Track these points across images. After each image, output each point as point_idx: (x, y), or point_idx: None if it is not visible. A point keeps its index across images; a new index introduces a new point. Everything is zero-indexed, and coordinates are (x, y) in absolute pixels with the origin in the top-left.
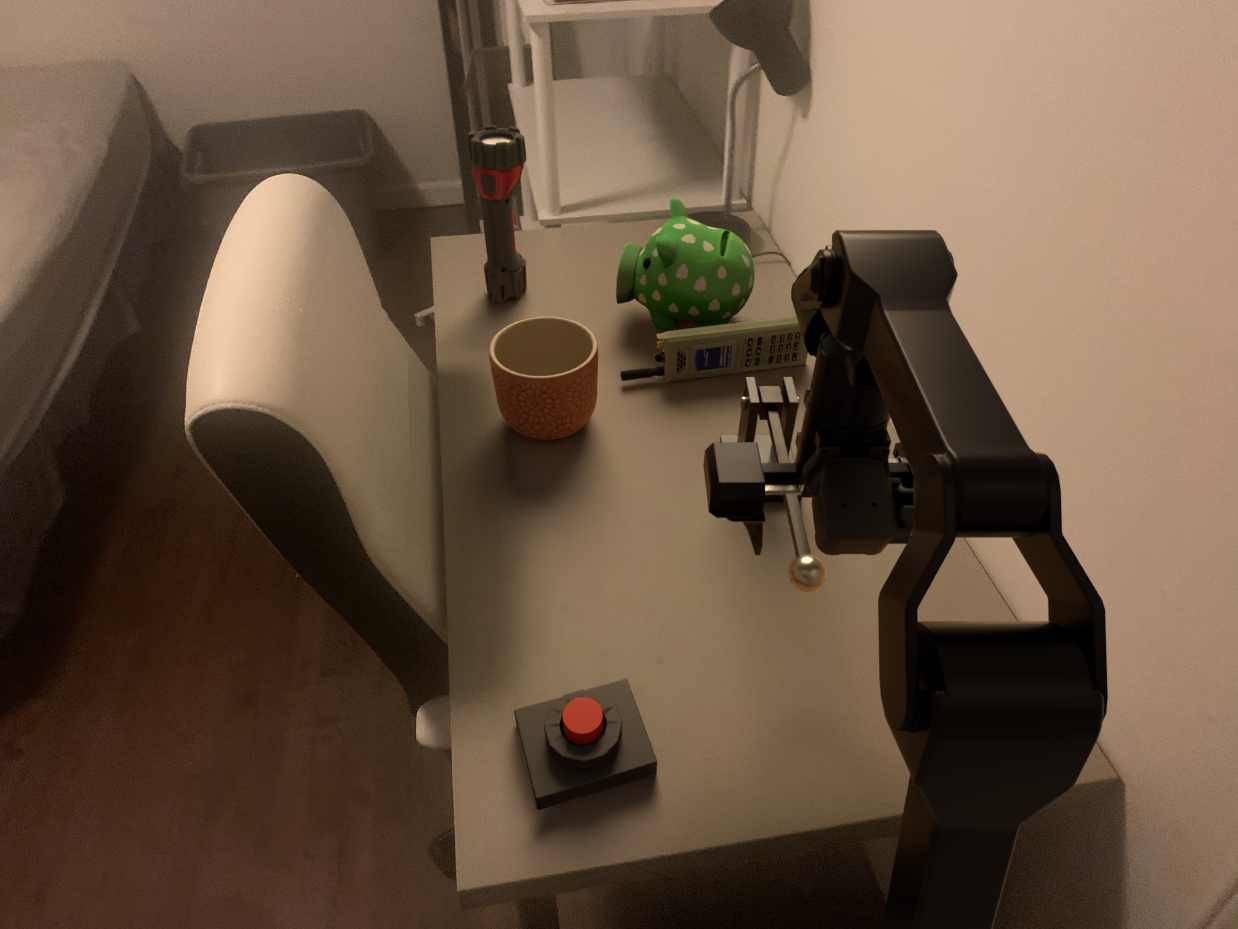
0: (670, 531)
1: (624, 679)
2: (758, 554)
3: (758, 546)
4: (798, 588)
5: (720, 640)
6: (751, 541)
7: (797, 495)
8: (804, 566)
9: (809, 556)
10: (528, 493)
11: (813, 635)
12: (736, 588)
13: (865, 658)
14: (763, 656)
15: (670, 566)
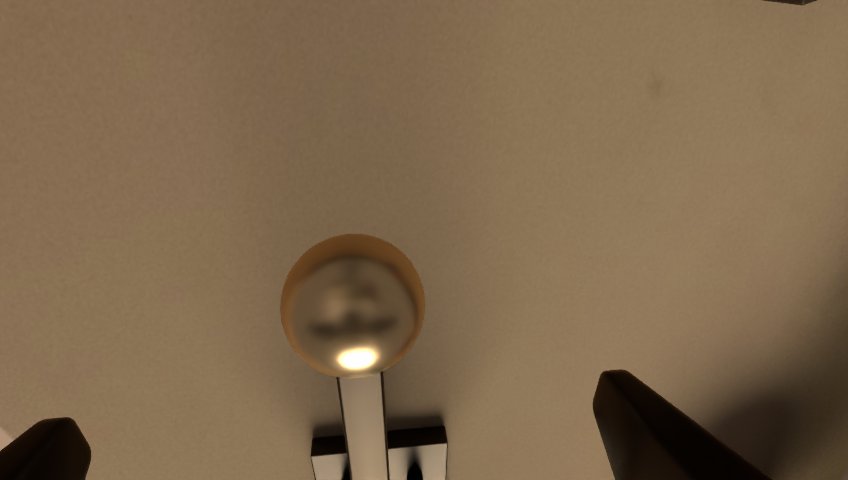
0: (557, 368)
1: (809, 1)
2: (621, 376)
3: (674, 430)
4: (390, 244)
5: (513, 144)
6: (755, 468)
7: (319, 454)
8: (378, 331)
9: (352, 373)
10: (767, 409)
11: (302, 165)
12: (457, 267)
13: (175, 107)
14: (424, 106)
15: (575, 303)
